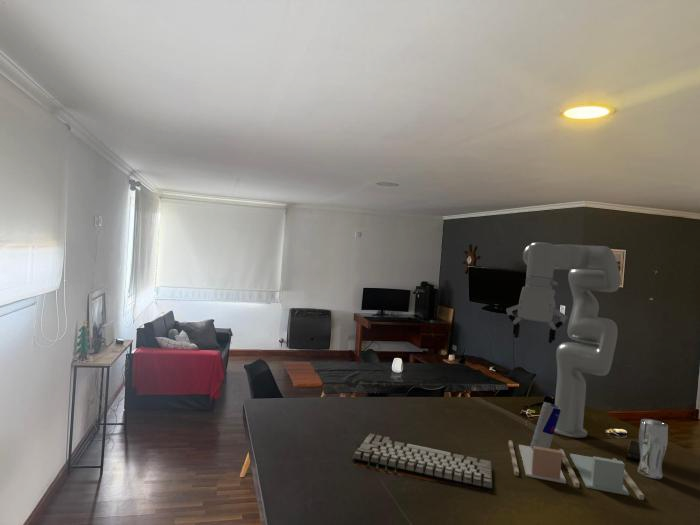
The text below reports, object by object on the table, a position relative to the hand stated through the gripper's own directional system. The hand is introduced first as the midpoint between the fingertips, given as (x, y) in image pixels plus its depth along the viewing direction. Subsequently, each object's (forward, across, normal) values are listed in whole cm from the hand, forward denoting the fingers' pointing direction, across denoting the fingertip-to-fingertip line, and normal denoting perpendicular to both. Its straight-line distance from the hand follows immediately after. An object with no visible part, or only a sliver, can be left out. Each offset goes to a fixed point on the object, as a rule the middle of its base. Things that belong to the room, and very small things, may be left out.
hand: (533, 339), depth 140 cm
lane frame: (+35, -13, 0) cm, 37 cm away
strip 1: (+35, -5, +2) cm, 35 cm away
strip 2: (+35, -20, -2) cm, 40 cm away
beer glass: (+35, -33, -13) cm, 50 cm away
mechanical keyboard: (+37, +22, +26) cm, 50 cm away
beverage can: (+34, -4, -4) cm, 34 cm away
